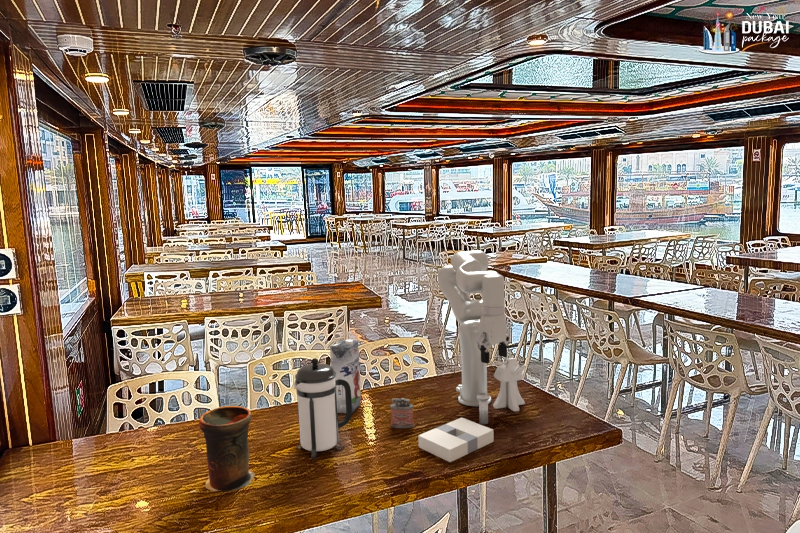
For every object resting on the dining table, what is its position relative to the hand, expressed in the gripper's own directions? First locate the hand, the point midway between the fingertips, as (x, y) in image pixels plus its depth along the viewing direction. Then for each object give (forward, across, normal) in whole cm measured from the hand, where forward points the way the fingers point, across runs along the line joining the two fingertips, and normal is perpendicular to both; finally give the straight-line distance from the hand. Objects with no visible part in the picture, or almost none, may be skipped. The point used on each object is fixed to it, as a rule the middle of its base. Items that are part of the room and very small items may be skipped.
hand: (494, 359), depth 196 cm
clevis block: (+23, +22, +1) cm, 32 cm away
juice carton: (+22, +28, -48) cm, 60 cm away
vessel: (+23, +83, -32) cm, 92 cm away
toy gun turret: (+23, -16, -6) cm, 28 cm away
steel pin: (+23, +3, -3) cm, 23 cm away
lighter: (+23, +24, -22) cm, 40 cm away
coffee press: (+23, +52, -29) cm, 64 cm away
